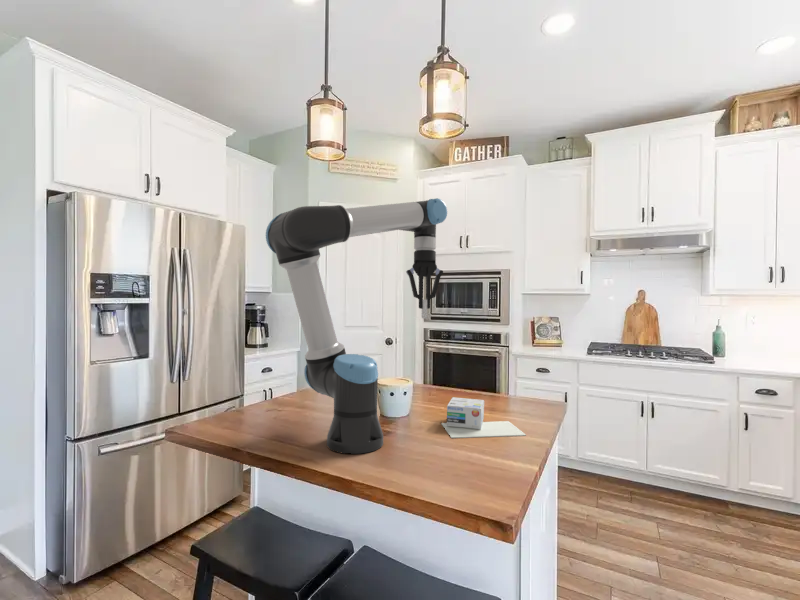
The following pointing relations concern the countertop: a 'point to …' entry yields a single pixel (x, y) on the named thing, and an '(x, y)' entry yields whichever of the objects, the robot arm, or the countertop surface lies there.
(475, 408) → the light bulb box
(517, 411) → the countertop surface
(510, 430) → the board
